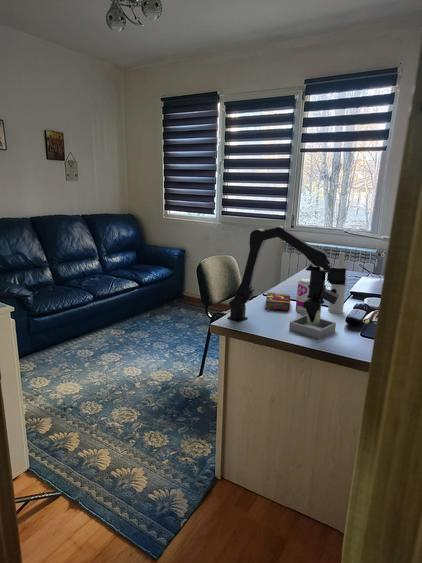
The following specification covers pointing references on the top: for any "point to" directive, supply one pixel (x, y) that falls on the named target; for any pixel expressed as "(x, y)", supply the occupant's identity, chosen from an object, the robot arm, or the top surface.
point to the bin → (312, 327)
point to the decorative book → (277, 301)
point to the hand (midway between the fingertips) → (313, 320)
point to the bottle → (338, 290)
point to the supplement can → (302, 294)
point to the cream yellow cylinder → (317, 318)
